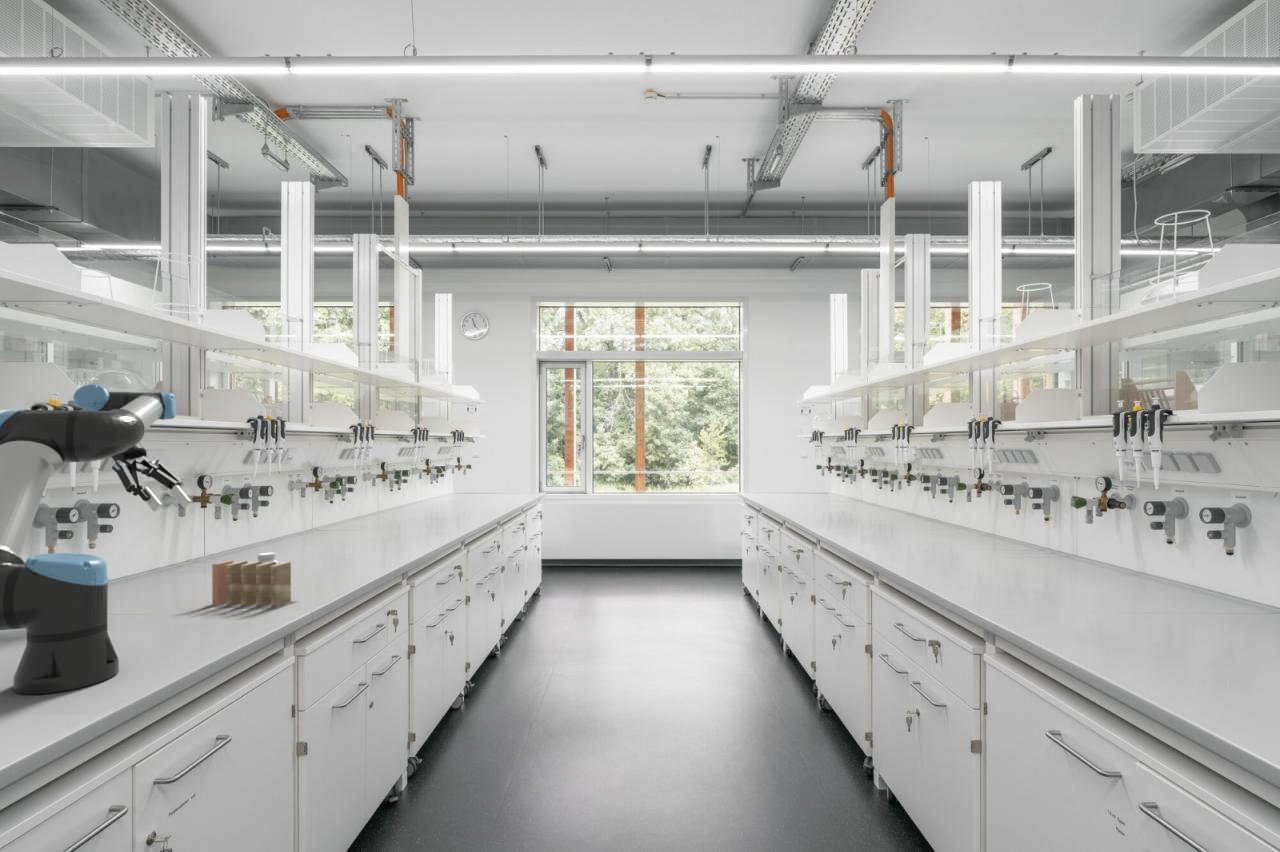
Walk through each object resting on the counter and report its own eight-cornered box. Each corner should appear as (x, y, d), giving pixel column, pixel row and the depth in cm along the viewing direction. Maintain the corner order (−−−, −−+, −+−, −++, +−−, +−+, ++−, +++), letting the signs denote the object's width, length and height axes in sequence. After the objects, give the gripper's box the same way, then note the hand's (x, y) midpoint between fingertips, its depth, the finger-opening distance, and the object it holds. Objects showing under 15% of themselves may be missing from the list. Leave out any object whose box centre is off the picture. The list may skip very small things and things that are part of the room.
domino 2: (226, 605, 184) (226, 564, 184) (242, 601, 190) (242, 561, 190) (232, 606, 184) (232, 564, 184) (247, 601, 189) (247, 561, 190)
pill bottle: (280, 587, 208) (280, 551, 208) (276, 592, 202) (276, 554, 202) (257, 589, 206) (257, 552, 206) (252, 594, 200) (252, 555, 200)
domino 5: (271, 607, 182) (270, 565, 182) (285, 602, 187) (285, 562, 187) (276, 607, 181) (276, 565, 182) (290, 602, 187) (290, 562, 187)
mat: (203, 607, 184) (203, 606, 184) (229, 599, 193) (229, 598, 193) (275, 610, 179) (275, 609, 179) (299, 602, 188) (298, 601, 188)
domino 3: (241, 606, 183) (241, 565, 184) (256, 601, 189) (256, 561, 189) (246, 606, 183) (246, 565, 183) (261, 601, 189) (261, 561, 189)
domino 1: (212, 605, 185) (212, 564, 185) (228, 600, 191) (228, 560, 191) (217, 605, 185) (217, 564, 185) (233, 600, 190) (233, 560, 190)
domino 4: (256, 606, 183) (256, 565, 183) (271, 602, 188) (270, 561, 188) (261, 607, 182) (261, 565, 182) (276, 602, 188) (276, 561, 188)
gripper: (150, 457, 204) (196, 511, 200) (78, 459, 183) (129, 520, 179) (165, 438, 203) (212, 493, 200) (95, 439, 182) (146, 500, 179)
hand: (173, 506), depth 189 cm, fingers open, 9 cm apart
